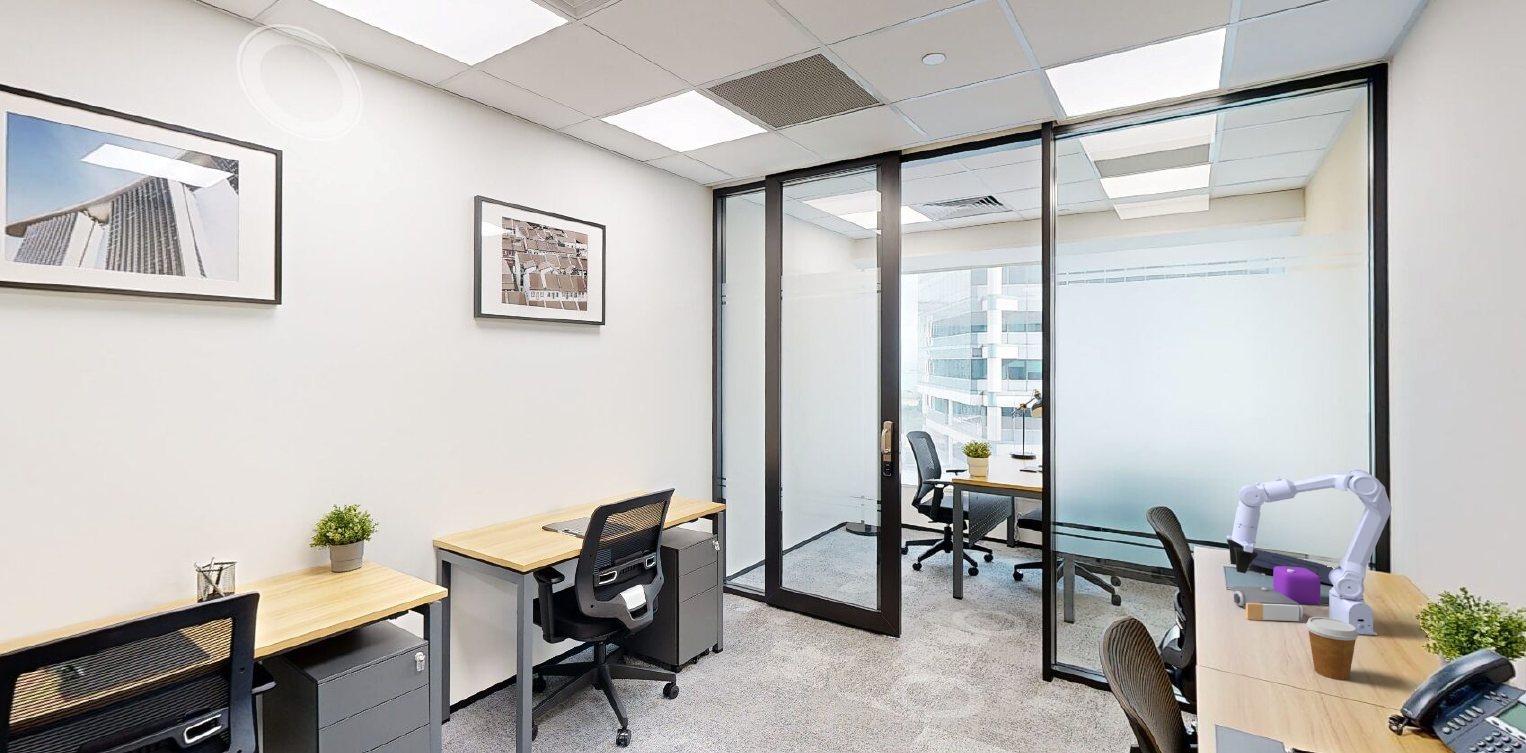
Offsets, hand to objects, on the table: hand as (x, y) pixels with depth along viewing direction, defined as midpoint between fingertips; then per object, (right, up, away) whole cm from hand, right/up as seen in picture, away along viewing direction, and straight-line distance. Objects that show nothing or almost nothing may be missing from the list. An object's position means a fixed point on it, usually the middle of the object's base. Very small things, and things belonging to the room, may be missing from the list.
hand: (1237, 568), depth 195 cm
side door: (+4, -12, -8) cm, 15 cm away
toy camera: (+24, -12, +9) cm, 29 cm away
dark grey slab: (+45, -12, +35) cm, 58 cm away
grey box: (+7, -12, -1) cm, 15 cm away
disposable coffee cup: (-7, -13, -40) cm, 43 cm away
